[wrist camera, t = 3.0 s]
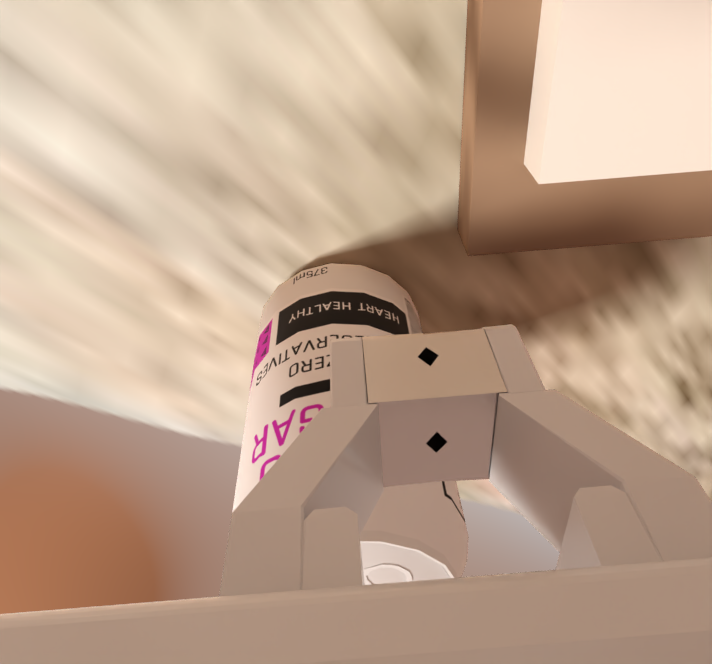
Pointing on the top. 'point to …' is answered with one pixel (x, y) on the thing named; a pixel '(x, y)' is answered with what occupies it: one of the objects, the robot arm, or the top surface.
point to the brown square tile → (517, 185)
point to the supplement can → (312, 392)
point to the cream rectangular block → (621, 90)
